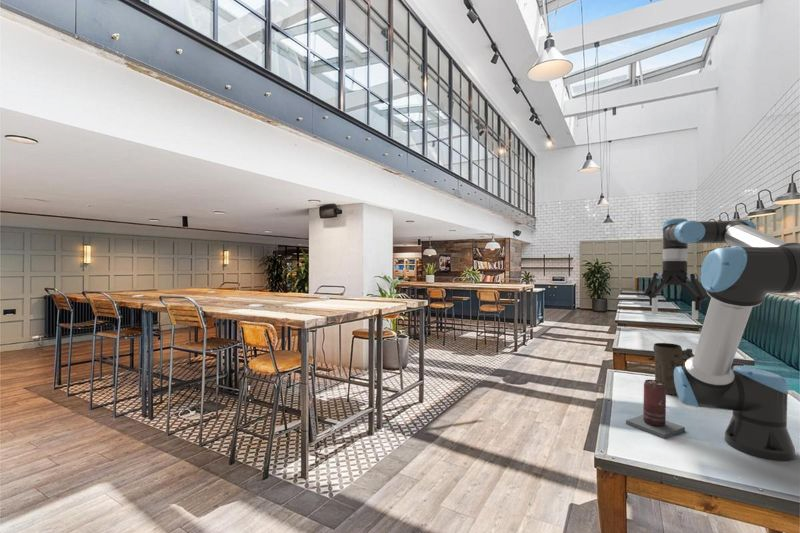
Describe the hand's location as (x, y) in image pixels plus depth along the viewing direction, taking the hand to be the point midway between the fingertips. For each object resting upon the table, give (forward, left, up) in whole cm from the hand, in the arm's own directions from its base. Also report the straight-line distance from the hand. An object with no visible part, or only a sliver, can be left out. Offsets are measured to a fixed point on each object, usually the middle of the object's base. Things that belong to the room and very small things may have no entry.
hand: (673, 316), depth 140 cm
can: (-6, +23, -34) cm, 41 cm away
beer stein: (+10, -21, -35) cm, 42 cm away
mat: (-6, +23, -35) cm, 42 cm away
